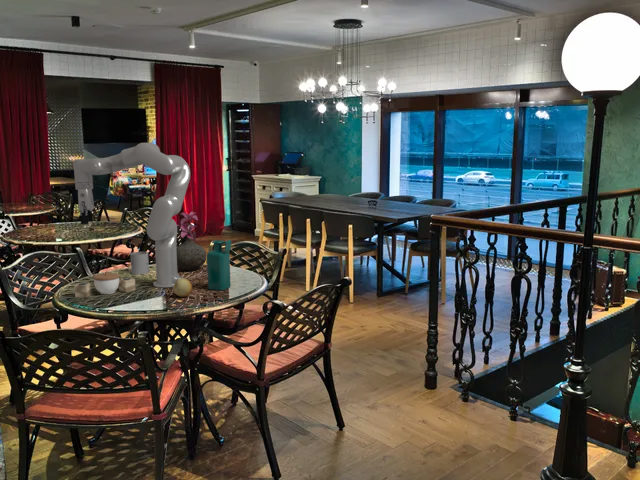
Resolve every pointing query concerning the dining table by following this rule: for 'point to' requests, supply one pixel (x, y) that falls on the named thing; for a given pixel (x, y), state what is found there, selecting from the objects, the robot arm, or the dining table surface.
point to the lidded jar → (106, 282)
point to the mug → (139, 262)
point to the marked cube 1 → (83, 290)
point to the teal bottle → (219, 266)
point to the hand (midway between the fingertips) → (87, 222)
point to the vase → (190, 246)
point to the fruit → (182, 287)
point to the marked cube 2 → (127, 284)
